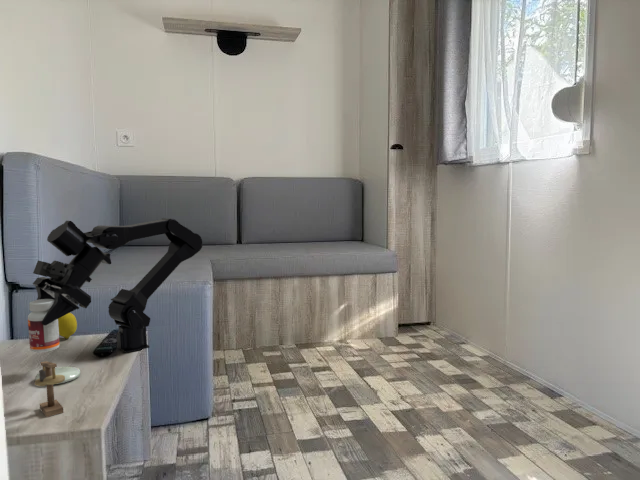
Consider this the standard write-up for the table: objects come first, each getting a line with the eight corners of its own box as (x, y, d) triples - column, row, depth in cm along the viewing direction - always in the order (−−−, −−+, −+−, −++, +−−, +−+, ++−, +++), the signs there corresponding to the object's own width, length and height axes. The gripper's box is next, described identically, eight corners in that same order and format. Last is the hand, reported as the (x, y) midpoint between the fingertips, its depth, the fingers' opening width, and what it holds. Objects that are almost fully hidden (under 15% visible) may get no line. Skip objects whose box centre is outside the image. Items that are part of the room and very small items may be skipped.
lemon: (56, 342, 144) (54, 314, 143) (56, 337, 149) (54, 310, 148) (78, 339, 146) (76, 312, 145) (77, 334, 151) (75, 307, 150)
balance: (34, 403, 104) (30, 353, 103) (54, 398, 107) (50, 349, 105) (48, 423, 96) (45, 368, 95) (69, 417, 98) (66, 364, 97)
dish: (73, 368, 124) (73, 363, 124) (85, 379, 117) (85, 374, 117) (31, 377, 118) (31, 373, 118) (41, 389, 111) (41, 384, 111)
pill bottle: (24, 350, 119) (20, 302, 118) (48, 343, 125) (45, 297, 124) (41, 354, 117) (38, 305, 115) (65, 346, 122) (62, 299, 121)
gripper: (38, 244, 127) (-8, 296, 120) (74, 250, 115) (25, 309, 108) (72, 271, 134) (30, 322, 127) (109, 279, 122) (65, 336, 115)
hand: (37, 321), depth 119 cm, fingers closed on pill bottle, 6 cm apart
